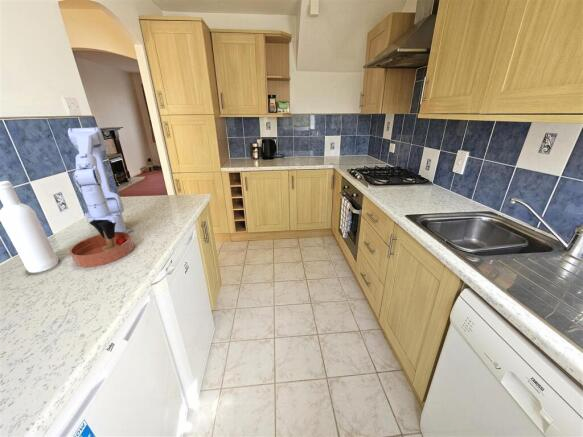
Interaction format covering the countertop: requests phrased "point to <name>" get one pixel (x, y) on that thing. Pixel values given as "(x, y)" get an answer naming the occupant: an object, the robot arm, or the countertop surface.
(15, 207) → the bottle
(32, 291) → the countertop surface
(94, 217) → the robot arm
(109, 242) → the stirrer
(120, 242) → the tomato
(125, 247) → the bowl
